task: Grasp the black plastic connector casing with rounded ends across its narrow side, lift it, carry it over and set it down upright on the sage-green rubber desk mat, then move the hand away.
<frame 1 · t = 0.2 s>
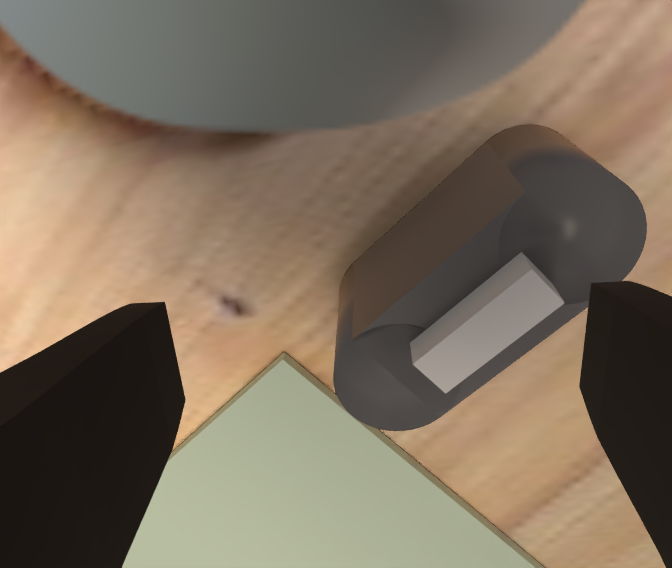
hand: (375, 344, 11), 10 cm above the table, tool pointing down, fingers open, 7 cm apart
connector casing: (453, 240, 20), on the table
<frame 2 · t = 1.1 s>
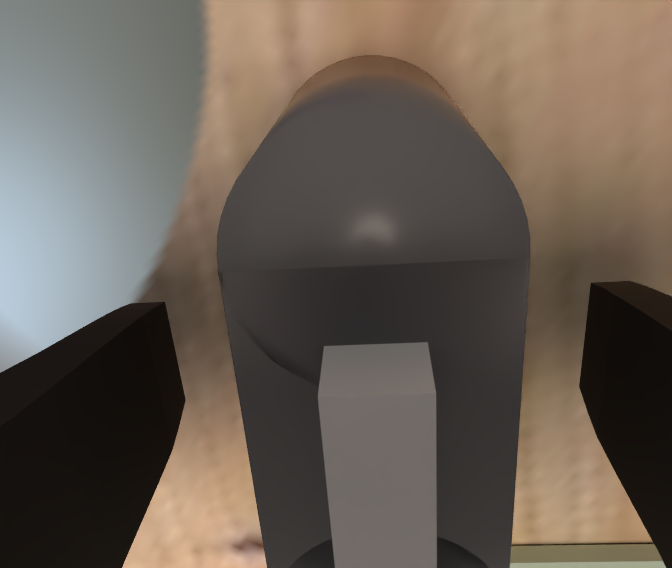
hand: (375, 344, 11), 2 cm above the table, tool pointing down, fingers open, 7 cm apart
connector casing: (376, 293, 13), on the table
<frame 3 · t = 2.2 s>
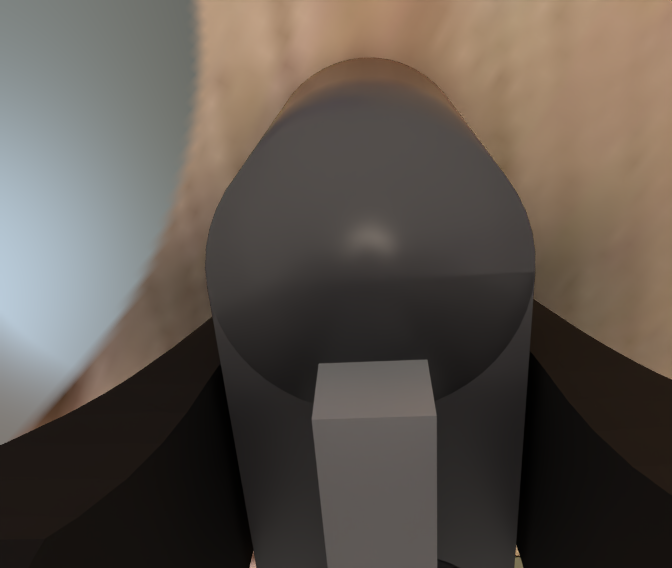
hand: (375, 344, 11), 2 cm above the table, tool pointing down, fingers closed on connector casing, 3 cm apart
connector casing: (374, 301, 12), on the table, touching gripper
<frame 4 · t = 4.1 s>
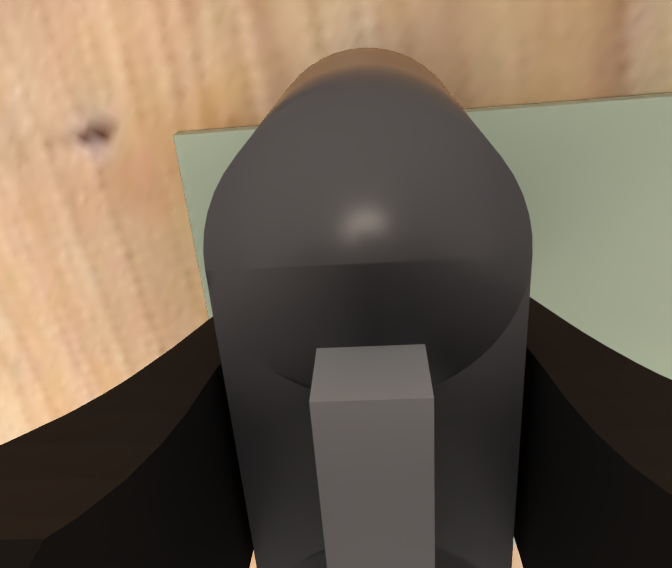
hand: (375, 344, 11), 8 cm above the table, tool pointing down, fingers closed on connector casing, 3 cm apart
desk mat: (462, 357, 21), on the table
connector casing: (373, 293, 12), point 7 cm above the table, touching gripper
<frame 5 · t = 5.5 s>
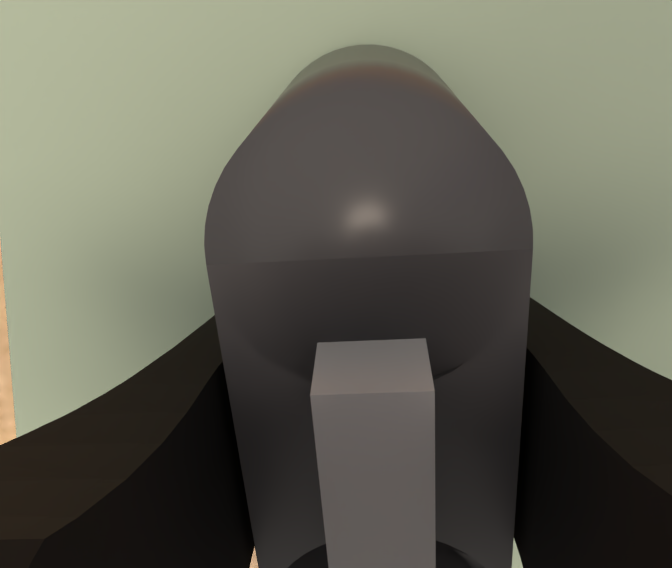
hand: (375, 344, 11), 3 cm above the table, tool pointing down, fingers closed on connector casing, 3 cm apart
desk mat: (373, 265, 14), on the table
connector casing: (373, 290, 12), point 2 cm above the table, touching gripper
when the fingers open (3 cm above the table, at t = 6.2 s): connector casing drops 1 cm, resting on desk mat.
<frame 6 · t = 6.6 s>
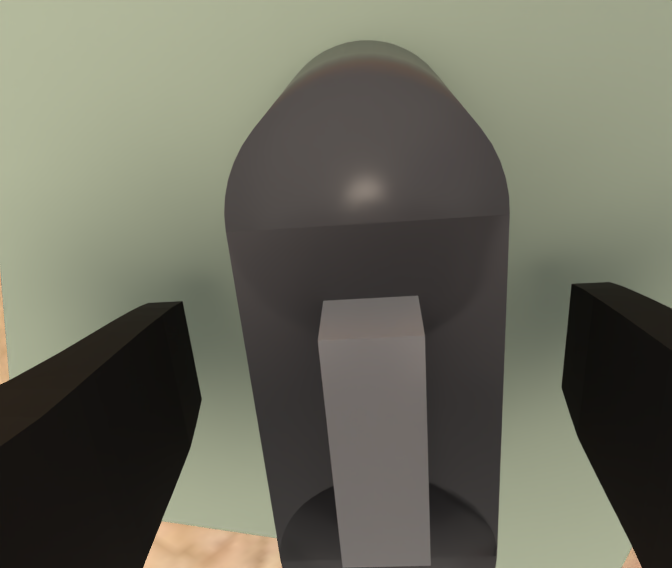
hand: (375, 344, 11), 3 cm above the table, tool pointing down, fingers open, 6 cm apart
desk mat: (373, 266, 14), on the table
connector casing: (373, 268, 13), resting on desk mat
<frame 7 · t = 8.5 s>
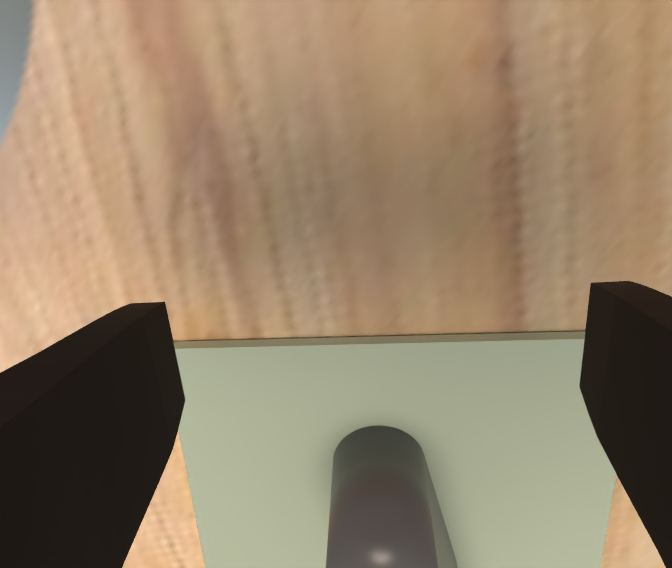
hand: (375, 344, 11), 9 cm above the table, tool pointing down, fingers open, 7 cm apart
desk mat: (397, 510, 25), on the table
connector casing: (397, 517, 24), resting on desk mat
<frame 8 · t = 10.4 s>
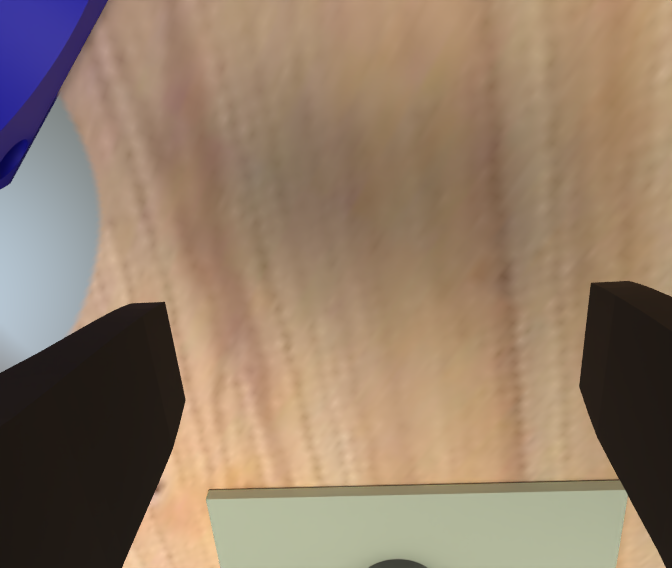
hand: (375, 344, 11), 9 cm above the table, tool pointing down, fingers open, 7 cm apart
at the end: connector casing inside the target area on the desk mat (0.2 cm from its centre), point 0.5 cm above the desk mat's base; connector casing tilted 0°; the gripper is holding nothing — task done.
